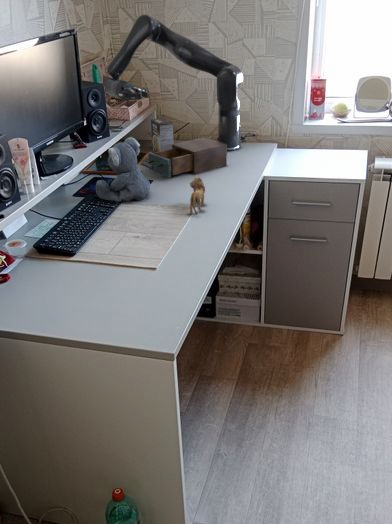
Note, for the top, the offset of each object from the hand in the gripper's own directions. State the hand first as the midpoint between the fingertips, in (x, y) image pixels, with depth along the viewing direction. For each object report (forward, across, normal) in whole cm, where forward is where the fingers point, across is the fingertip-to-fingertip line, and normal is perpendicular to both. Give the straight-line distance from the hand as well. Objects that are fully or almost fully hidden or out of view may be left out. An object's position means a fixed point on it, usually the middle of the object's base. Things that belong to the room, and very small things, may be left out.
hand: (144, 95), depth 234 cm
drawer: (+28, -9, +23) cm, 37 cm away
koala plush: (+39, -35, +24) cm, 57 cm away
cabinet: (+28, +7, +24) cm, 37 cm away
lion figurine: (+65, -24, +24) cm, 73 cm away
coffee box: (+12, 0, +24) cm, 27 cm away
